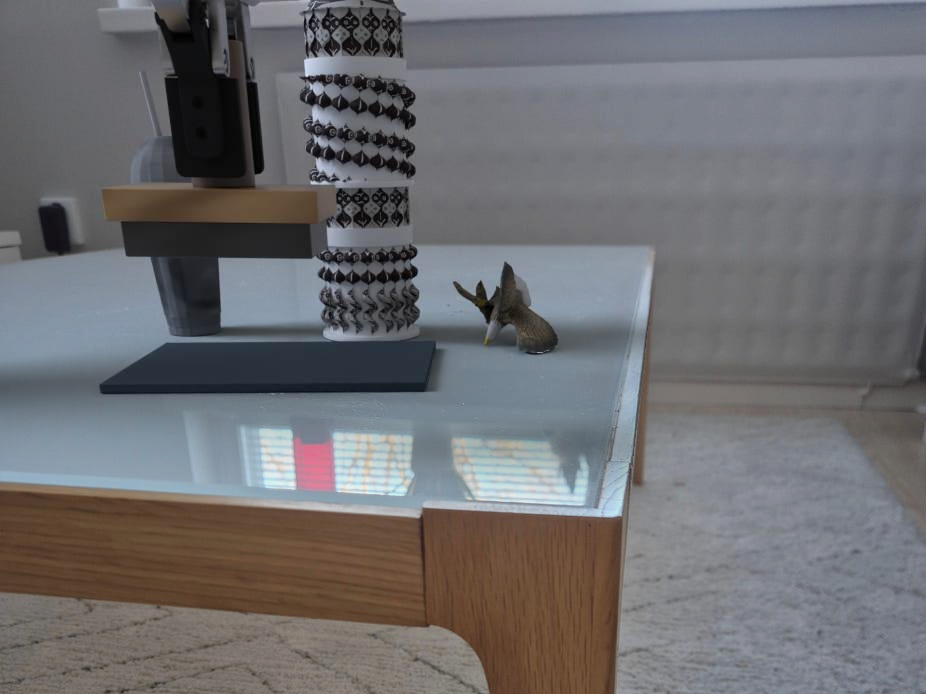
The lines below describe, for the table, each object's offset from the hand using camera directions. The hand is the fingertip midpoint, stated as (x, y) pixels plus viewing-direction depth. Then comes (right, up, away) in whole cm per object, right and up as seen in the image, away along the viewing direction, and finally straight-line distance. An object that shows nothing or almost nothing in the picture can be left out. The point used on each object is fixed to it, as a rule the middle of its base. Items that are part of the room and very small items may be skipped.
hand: (222, 171), depth 46 cm
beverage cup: (-13, +5, +39) cm, 41 cm away
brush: (0, -3, +2) cm, 4 cm away
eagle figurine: (+15, +2, +32) cm, 36 cm away
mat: (-2, -3, +24) cm, 25 cm away
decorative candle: (+3, +4, +37) cm, 37 cm away
